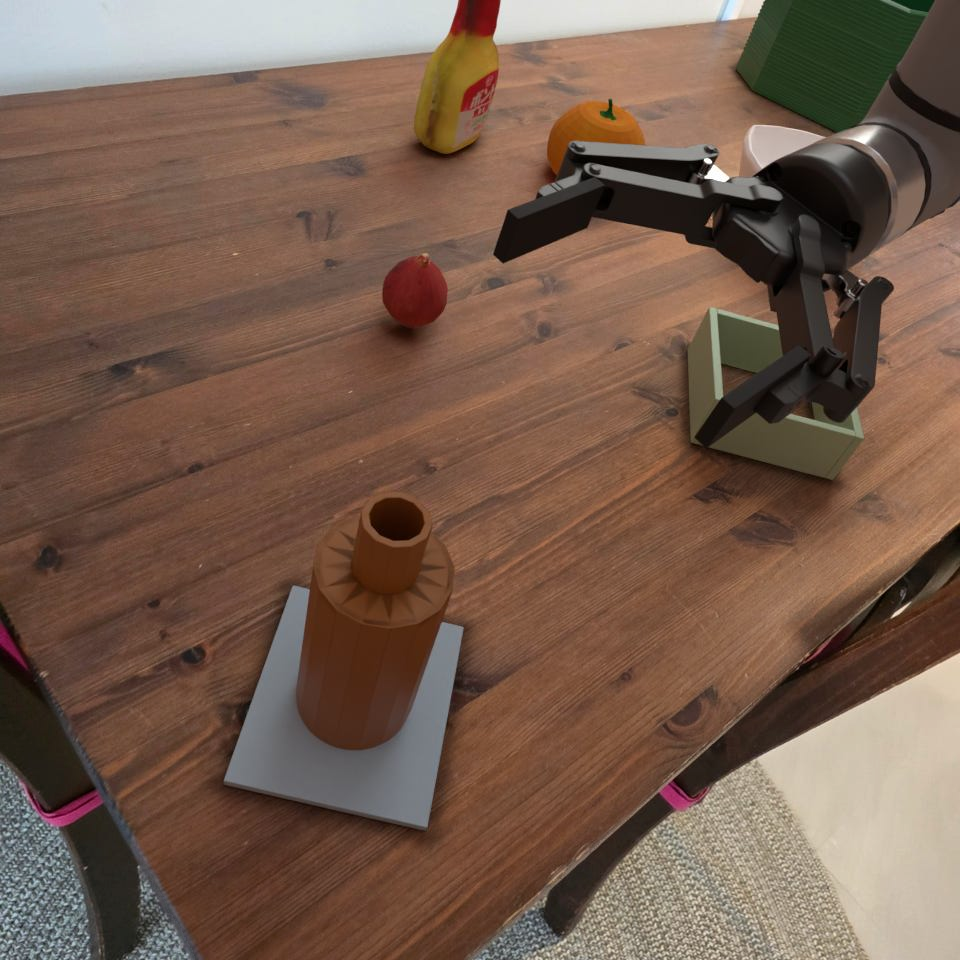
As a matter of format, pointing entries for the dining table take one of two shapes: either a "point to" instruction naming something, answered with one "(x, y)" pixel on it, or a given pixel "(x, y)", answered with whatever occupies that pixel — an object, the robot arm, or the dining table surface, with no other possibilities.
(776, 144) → the bowl
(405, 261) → the onion
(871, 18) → the planter
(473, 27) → the bottle
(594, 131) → the fruit
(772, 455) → the bin
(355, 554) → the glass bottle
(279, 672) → the mat
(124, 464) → the dining table surface
